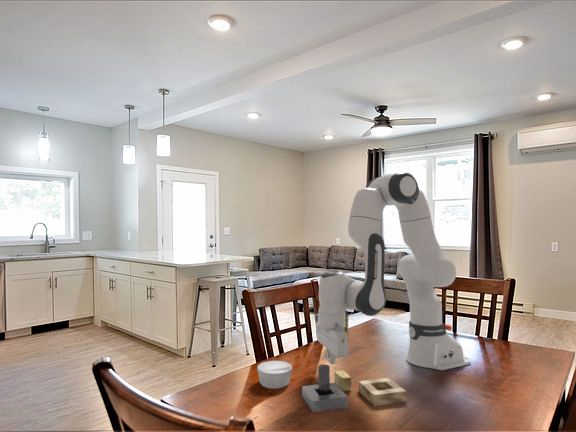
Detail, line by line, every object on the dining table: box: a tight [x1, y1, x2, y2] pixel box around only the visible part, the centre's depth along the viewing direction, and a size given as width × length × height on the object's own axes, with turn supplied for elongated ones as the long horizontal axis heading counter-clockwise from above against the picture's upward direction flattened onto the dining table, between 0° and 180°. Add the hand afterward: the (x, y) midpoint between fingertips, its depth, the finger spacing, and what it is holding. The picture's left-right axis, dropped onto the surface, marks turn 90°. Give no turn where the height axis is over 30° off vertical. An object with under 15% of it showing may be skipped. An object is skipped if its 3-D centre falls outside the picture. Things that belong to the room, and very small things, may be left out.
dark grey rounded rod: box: [317, 364, 331, 396], centre depth 111 cm, size 3×3×10 cm
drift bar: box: [333, 370, 352, 393], centre depth 121 cm, size 3×6×4 cm, turn 15°
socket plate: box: [301, 382, 349, 413], centre depth 111 cm, size 10×10×3 cm
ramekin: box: [256, 360, 293, 390], centre depth 124 cm, size 11×11×5 cm
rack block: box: [358, 377, 407, 407], centre depth 114 cm, size 10×10×3 cm
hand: (331, 362), depth 128 cm, fingers closed
